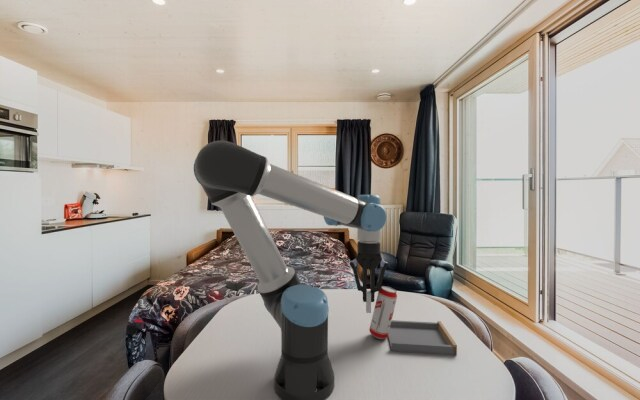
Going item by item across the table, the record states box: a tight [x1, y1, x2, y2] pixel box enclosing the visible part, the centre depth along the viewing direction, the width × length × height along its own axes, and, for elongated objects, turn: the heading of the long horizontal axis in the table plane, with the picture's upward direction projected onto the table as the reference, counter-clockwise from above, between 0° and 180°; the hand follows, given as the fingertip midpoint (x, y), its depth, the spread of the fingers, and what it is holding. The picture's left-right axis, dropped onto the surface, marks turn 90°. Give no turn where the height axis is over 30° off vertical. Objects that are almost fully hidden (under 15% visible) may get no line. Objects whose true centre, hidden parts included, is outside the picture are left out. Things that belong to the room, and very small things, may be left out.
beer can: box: [368, 285, 398, 340], centre depth 96 cm, size 6×6×16 cm
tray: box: [387, 319, 458, 356], centre depth 95 cm, size 16×19×3 cm
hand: (368, 311), depth 97 cm, fingers closed
